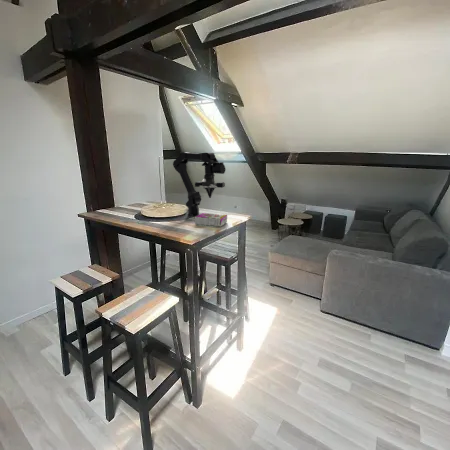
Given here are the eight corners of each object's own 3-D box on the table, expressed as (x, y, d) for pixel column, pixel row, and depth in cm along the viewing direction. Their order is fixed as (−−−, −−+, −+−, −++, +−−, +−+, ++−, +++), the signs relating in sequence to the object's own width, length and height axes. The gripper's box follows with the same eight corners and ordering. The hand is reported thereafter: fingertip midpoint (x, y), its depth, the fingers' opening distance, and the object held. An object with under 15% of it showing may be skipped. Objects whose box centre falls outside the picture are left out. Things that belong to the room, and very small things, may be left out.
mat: (196, 225, 142) (196, 224, 142) (204, 219, 154) (204, 219, 154) (216, 227, 138) (216, 226, 138) (222, 221, 150) (222, 220, 150)
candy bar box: (202, 212, 151) (227, 214, 146) (202, 219, 152) (227, 222, 147) (194, 216, 141) (220, 218, 135) (194, 224, 142) (220, 227, 137)
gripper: (190, 174, 147) (191, 199, 151) (219, 174, 142) (220, 200, 146) (197, 172, 157) (198, 196, 161) (225, 173, 152) (225, 197, 156)
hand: (210, 197), depth 156 cm, fingers closed
